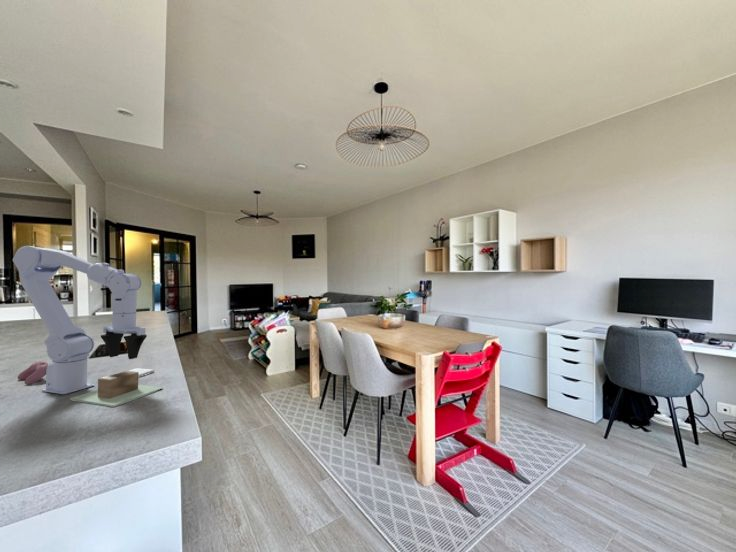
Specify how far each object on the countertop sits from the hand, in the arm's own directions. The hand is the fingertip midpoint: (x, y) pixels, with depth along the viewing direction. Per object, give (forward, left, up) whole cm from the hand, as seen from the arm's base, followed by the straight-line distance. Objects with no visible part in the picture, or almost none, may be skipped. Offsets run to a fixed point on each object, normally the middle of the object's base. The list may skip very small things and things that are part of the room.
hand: (123, 357), depth 94 cm
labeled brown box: (+4, -4, -9) cm, 11 cm away
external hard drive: (-10, +9, -10) cm, 17 cm away
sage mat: (+4, -4, -9) cm, 11 cm away
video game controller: (-35, -3, -10) cm, 36 cm away
